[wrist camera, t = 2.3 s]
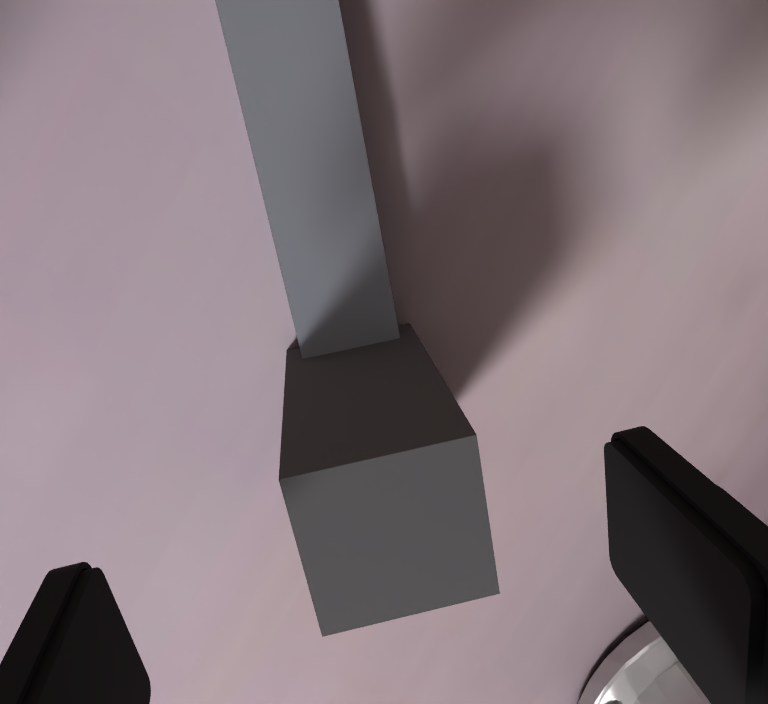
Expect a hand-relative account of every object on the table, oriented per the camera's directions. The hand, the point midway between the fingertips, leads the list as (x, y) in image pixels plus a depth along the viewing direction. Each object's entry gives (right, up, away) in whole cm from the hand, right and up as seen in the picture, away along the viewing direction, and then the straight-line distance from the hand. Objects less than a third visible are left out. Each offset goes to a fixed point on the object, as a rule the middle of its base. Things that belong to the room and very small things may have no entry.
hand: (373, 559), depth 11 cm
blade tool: (-2, +10, +6) cm, 12 cm away
